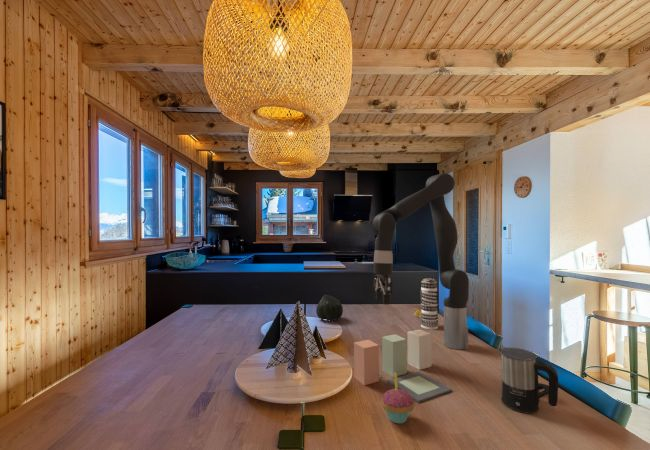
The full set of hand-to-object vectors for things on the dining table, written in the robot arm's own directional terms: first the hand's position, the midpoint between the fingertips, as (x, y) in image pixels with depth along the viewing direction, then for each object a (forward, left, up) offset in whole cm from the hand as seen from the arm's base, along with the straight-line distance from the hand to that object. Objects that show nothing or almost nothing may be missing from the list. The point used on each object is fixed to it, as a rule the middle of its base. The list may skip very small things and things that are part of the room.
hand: (382, 302), depth 125 cm
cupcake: (-5, +41, -22) cm, 47 cm away
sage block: (-4, +13, -22) cm, 26 cm away
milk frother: (-42, +24, -22) cm, 53 cm away
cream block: (-14, +6, -22) cm, 26 cm away
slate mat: (-12, +22, -21) cm, 33 cm away
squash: (+32, -46, -22) cm, 60 cm away
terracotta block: (+5, +21, -22) cm, 30 cm away
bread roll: (-20, -63, -22) cm, 70 cm away
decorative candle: (-22, -44, -22) cm, 54 cm away
